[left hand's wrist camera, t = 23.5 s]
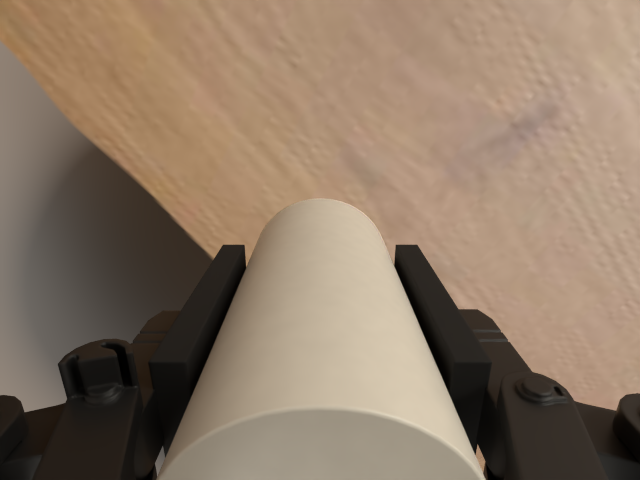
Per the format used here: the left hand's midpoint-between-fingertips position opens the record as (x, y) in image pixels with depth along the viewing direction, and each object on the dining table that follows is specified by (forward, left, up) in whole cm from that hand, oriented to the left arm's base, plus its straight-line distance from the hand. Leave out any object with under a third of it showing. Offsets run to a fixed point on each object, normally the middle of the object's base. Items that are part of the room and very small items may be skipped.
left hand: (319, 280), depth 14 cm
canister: (0, 0, -2) cm, 2 cm away
